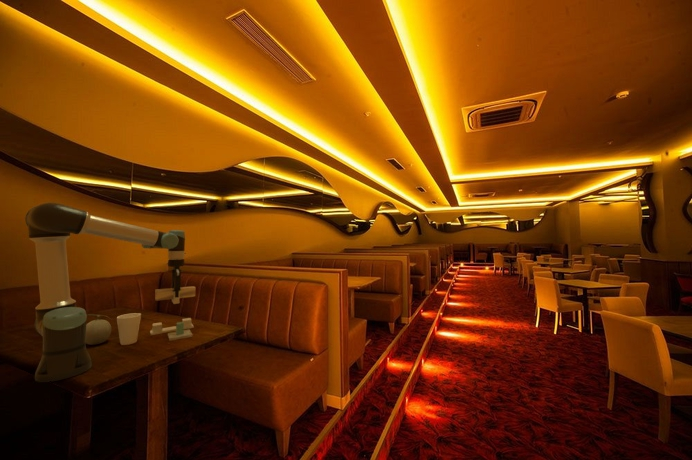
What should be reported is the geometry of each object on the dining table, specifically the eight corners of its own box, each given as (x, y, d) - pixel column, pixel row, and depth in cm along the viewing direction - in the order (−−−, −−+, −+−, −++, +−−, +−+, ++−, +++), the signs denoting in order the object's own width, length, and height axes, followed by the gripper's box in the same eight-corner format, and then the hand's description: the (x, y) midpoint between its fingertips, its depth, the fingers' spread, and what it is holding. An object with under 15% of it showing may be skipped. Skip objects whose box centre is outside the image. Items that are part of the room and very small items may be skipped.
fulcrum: (192, 336, 145) (192, 323, 145) (169, 341, 139) (169, 327, 139) (189, 331, 153) (189, 319, 153) (167, 335, 147) (167, 322, 147)
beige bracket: (193, 327, 160) (193, 319, 160) (150, 335, 148) (150, 326, 148) (191, 325, 164) (191, 317, 164) (150, 332, 152) (150, 323, 152)
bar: (195, 296, 155) (195, 287, 155) (156, 300, 144) (156, 290, 144) (193, 295, 159) (193, 286, 159) (155, 299, 147) (155, 289, 148)
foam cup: (112, 344, 135) (112, 316, 136) (134, 338, 144) (134, 312, 144) (122, 347, 131) (123, 319, 131) (144, 341, 139) (144, 314, 140)
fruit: (118, 340, 141) (118, 310, 141) (92, 349, 130) (92, 316, 130) (102, 338, 143) (103, 308, 144) (75, 346, 132) (76, 314, 133)
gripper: (187, 259, 147) (186, 304, 146) (181, 257, 161) (180, 298, 160) (170, 260, 142) (169, 306, 142) (166, 258, 157) (165, 300, 156)
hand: (175, 302), depth 151 cm, fingers closed on bar, 5 cm apart
